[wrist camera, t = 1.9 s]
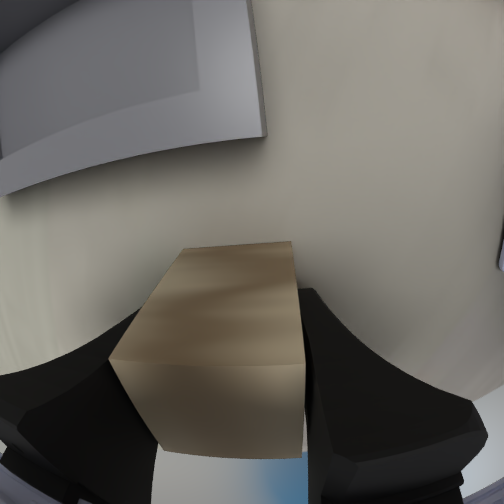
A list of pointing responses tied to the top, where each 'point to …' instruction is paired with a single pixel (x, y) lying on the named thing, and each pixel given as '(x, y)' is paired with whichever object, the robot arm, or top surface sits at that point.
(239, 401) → the birch block
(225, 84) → the grey rectangular open box
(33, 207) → the top surface
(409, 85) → the top surface
